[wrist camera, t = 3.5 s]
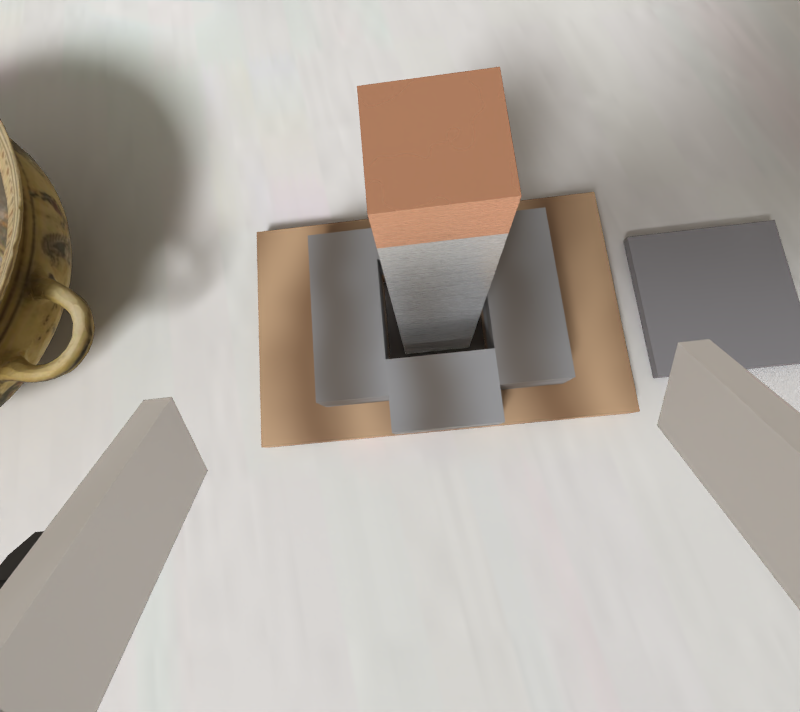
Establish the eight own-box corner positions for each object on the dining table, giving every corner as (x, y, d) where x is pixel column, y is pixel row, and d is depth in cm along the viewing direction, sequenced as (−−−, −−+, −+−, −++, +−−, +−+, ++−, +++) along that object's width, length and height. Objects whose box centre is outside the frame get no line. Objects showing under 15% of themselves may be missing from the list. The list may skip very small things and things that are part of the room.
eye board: (587, 202, 30) (608, 168, 26) (630, 413, 26) (660, 407, 23) (263, 240, 31) (241, 213, 27) (268, 447, 28) (245, 446, 24)
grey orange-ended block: (461, 288, 29) (500, 66, 12) (468, 347, 28) (521, 196, 11) (400, 294, 29) (356, 86, 13) (405, 354, 28) (367, 214, 12)
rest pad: (767, 225, 28) (774, 220, 28) (808, 362, 26) (817, 360, 26) (623, 241, 29) (627, 236, 28) (653, 378, 27) (658, 376, 26)
